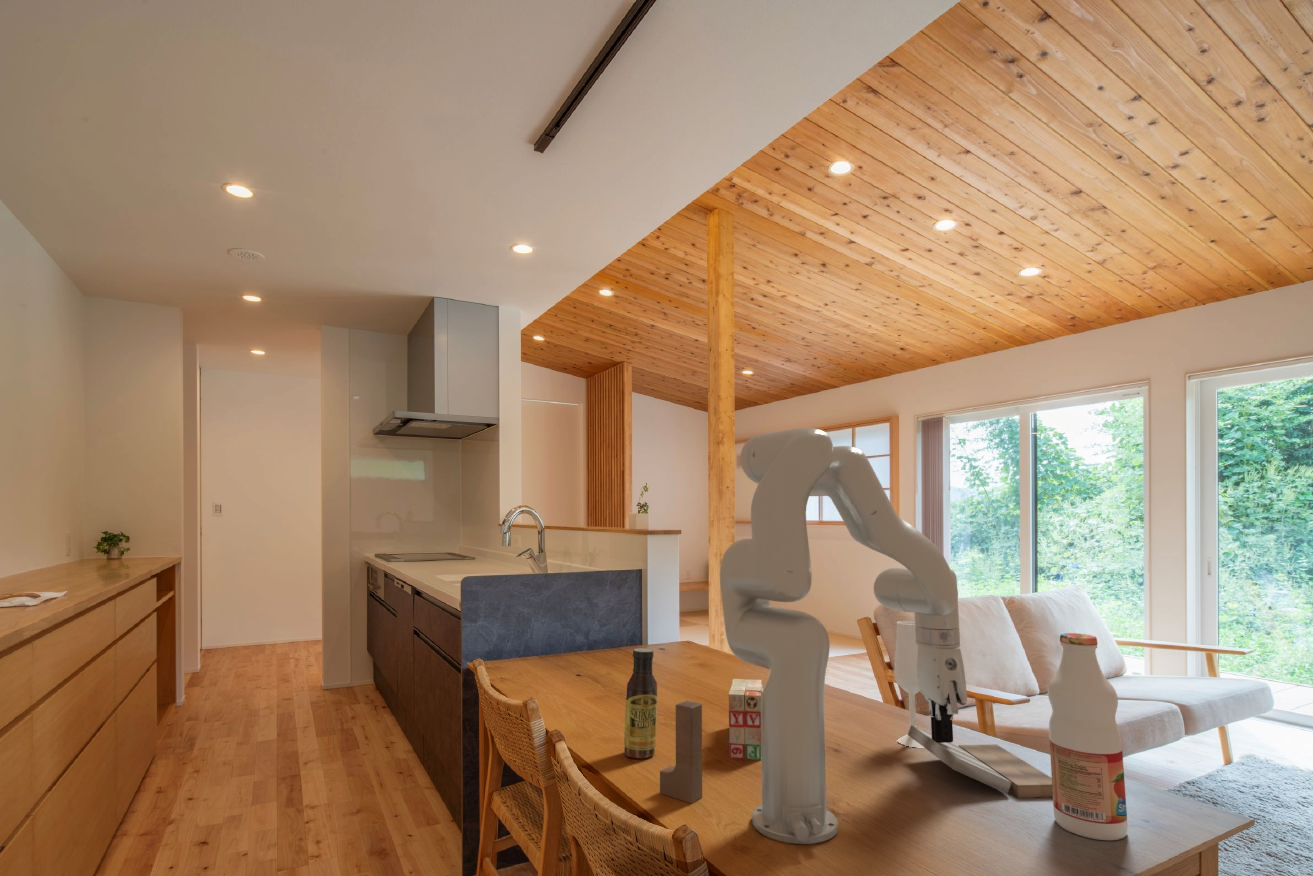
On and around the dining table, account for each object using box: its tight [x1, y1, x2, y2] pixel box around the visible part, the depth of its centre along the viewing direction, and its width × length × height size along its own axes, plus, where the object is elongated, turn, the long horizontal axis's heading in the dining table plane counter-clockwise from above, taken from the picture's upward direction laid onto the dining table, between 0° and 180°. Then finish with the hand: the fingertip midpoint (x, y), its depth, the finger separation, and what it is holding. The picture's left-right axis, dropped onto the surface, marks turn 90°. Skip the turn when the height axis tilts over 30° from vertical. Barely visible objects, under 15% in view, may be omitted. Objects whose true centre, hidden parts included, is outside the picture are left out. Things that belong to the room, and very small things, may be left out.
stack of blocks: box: [728, 678, 764, 761], centre depth 143 cm, size 21×6×12 cm, turn 170°
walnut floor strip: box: [958, 743, 1053, 799], centre depth 124 cm, size 20×8×2 cm, turn 3°
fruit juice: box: [1047, 632, 1128, 841], centre depth 105 cm, size 9×9×28 cm
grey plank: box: [907, 725, 1012, 794], centre depth 124 cm, size 18×10×2 cm, turn 3°
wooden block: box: [659, 700, 703, 804], centre depth 116 cm, size 7×3×15 cm, turn 53°
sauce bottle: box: [623, 647, 658, 760], centre depth 135 cm, size 7×6×20 cm
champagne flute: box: [893, 620, 925, 749], centre depth 143 cm, size 7×7×24 cm
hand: (942, 740), depth 124 cm, fingers closed
